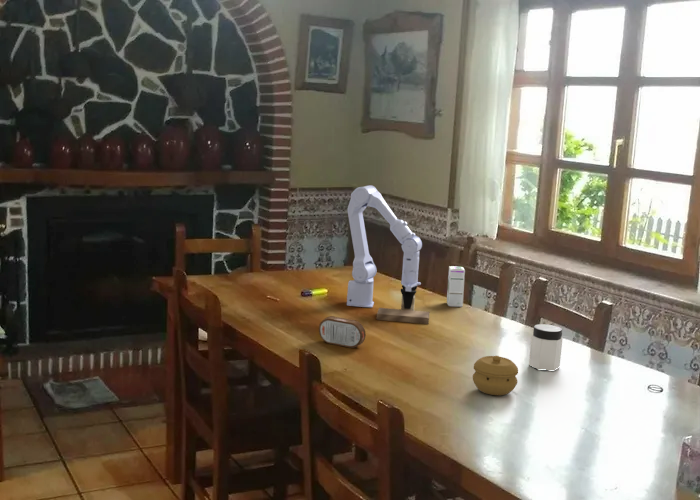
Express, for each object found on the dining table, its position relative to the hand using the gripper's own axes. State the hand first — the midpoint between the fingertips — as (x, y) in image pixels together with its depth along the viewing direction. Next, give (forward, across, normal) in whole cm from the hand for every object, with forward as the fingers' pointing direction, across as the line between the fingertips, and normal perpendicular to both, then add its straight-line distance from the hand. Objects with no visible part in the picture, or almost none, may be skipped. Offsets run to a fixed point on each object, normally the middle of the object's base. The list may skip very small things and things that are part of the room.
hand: (407, 306), depth 293 cm
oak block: (+2, 0, 0) cm, 2 cm away
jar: (+2, -52, -43) cm, 68 cm away
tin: (+2, -48, +18) cm, 51 cm away
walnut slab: (+2, -10, +1) cm, 10 cm away
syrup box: (+2, +17, -17) cm, 24 cm away
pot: (+2, -78, -27) cm, 83 cm away
